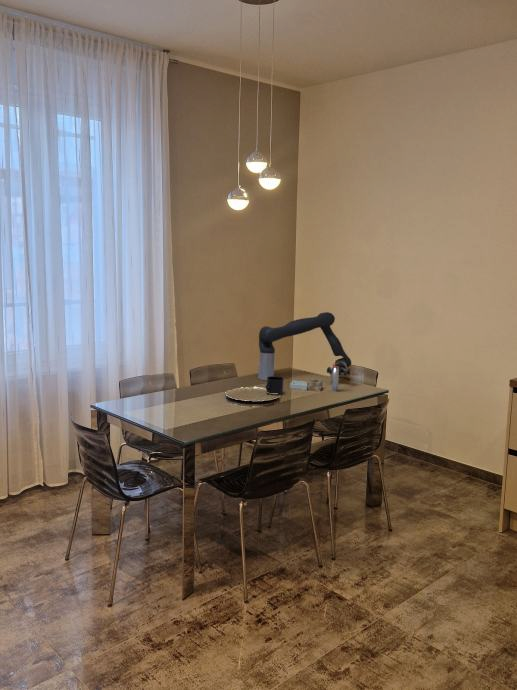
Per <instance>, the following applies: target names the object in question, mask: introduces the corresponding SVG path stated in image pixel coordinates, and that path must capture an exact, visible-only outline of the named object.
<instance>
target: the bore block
mask: <svg viewBox="0 0 517 690" xmlns="http://www.w3.org/2000/svg"><path fill="white" fill-rule="evenodd" d="M306 382H307V389H308V390H307V391H312V390H321V391H322V389H323V379H316V378H309V379H308V380H307V381H306ZM321 388H322V389H321Z"/></svg>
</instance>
